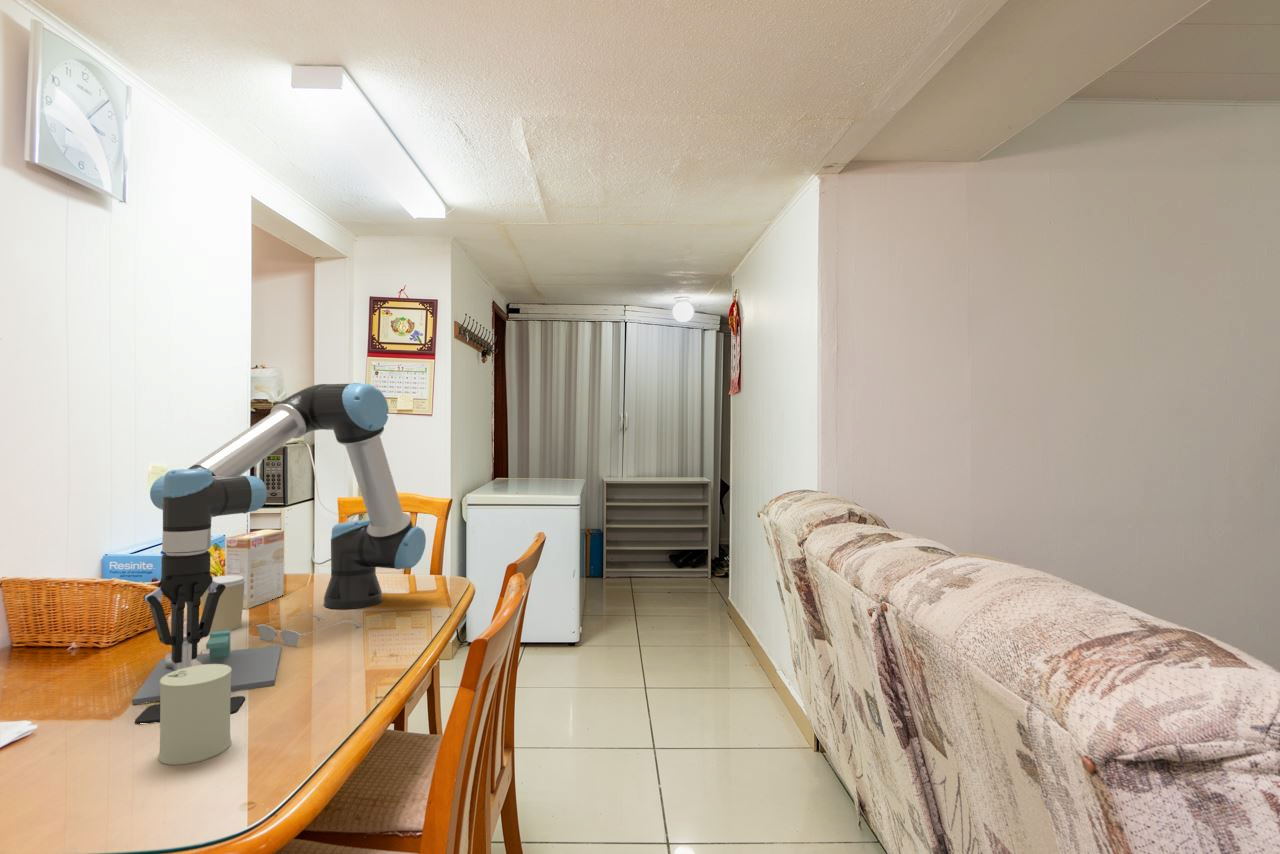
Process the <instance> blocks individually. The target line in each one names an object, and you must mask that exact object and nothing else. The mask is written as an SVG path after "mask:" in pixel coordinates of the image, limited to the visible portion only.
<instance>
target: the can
mask: <svg viewBox="0 0 1280 854" xmlns="http://www.w3.org/2000/svg"><path fill="white" fill-rule="evenodd" d="M231 671H232V669H231V667H230V666H228V665H223V664H204V665H197V666H191V667H187V668H183V669H179V670H176V671H173V672H171V673H168V674H166V675H165V676H163V677H162V678H161V679H160V701H159V702H160V703H159V704H160V722H159V727H160V728H159V753H158V756H157V758H158V761H159V762H160V763H161V764H162V763H163V764H165V765H170V766H171V765H172V766H179V765H181V766H182V765H190V764H194V763H198V762H199V763H200V762H202V761H206V760H209V759H211V758H214V757H216V756H218V755H220V754H222V753H223V752H225V751H226V750H228V748H229V747H230V746H231V744H232V739H231V714H230V697H231V692H232V691H231Z"/></svg>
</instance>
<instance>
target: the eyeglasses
mask: <svg viewBox="0 0 1280 854" xmlns="http://www.w3.org/2000/svg"><path fill="white" fill-rule="evenodd" d="M304 615H307V616H312V617H314V618H316V619H317V621H319V620H323V621H325V620H324V619H325V618H323V617H322V616H319V615H316V614H312V613H298V614H295V615H292V616H289V617H284V618H282V619H279V620H278V619H277V620H275V621H271V622H268V623H266V624H263V623H262V624H258V625H256V626H255V627H256V629H258V630H257V631H258V635H259V637H260V640H261V641H262V640H263V641H266V642H267V641H268V642H274V641H275V638H277V637H278V632H279V633H280V638H281V640H282V643H283V645H287V646H290V647H297V645H298V643H299V640H300V638H301V637H305V636H307V635H308V634H312V633H314V632H317V631H321V630H323V629H327V628H331V627H333V626H336V625H340V624H343V623H351V624H353V625H354V626H355V627H356V629H359V627H360V628H362V625H361V624H359V623H357V622H355V621H352V620H343V621H340V622H337V623H336V624H332V625H329V626H326V627H323V628H320V629H317V630H313V631H310V632H303V633H299V632H297V631H295V630H292V629H282V630H276V629H275V628H274V627H272V626H270V625H269V624H272V623H275V622H279V621H283V620H286V619H290V618H292V617H297V616H304Z"/></svg>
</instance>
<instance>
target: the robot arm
mask: <svg viewBox="0 0 1280 854" xmlns="http://www.w3.org/2000/svg"><path fill="white" fill-rule="evenodd" d="M389 409H390V408H389V404H388V401H387V399H386V397H385V395H384V393H383V392H382V391H381V390H380V389H379V388H377V387H376V386H375V385H372V384H368V383H360V382H353V383H320V384H319V383H318V384H315V385H311V386H308V387H306V388H303V389H301V390H299V391H297V392H295V393H293V394H291V395H289V396H288V397H286V398H285V399H283V400H281V401H280V402H279V403H277V404H275V405H274V406H272V408H271V409H270V413H269V414H268V415H267V416H265V417H264V418H262V419H260V420H259V421H258V422H256V423H254V424H253V425H251V426H250V427H249V428H247V429H246V430H244V431H242V432H241V433H239V434H238V435H237V436H235V437H233V438H232V439H231V440H228V442H226V443H224V444H223V445H222V446H220V447H218V448H217V449H214V451H212V452H211V453H209V454H208V455H207V456H205V457H204V458H202V459H200V460H199V461H197V462H196V463H194V464H193V465H191V466H190V467H188V468H186V469H181V468H180V469H179V468H178V469H172V470H171V469H170V470H168V471H167V472H166V473H165V475H163V476H162V475H161V476H160V477H159V478H157V479H156V480H154V481H153V482H152V484H151V487H150V490H149V497H150V500H151V502H152V504H153V505H154V506H155V508H157V509H159V510H162V538H161V539H162V540H161V541H162V546H161V547H162V548H161V549H162V552H163V553H164V554H163V555H162V556H161V578H160V581H159V583H158V585H157V588H156V589H155V590H153V591H152V592H150V593H146V594H144V595H143V597H142V599H143V601H144V602H146V604H147V605H148V606H149V608H150V611H151V615H152V618H153V622H154V627H155V629H156V632H157V636H158V640H159V642H160V643H162V644H164V645H165V646H171V652H172V661H173V662H174V663H177V670H179V669H183V668H187V667H191V661H192V660H193V659H196V657H197V655H198V644H199V643H200V642H201V640H202V639H203V638H206V637H208V636H210V633H211V632H210V629H211V626H212V622H213V619H214V615H215V611H216V608H217V604H218V601H219V597H220V596H221V594H222V593H223V591H224V590H225V588H226V587H225V585H223V584H220V583H216V582H214V581H213V578H212V577H213V576H212V575H211V552H210V548H211V547H212V539H211V538H212V518H214V517H220V516H221V517H222V516H230V515H236V514H237V515H238V514H247V513H251V512H255V511H258V510H260V509H261V508H262V507H263V506H264V505H265V503H266V501H267V498H268V497H267V495H268V493H267V492H268V491H267V486H266V484H265V482H264V481H263V480H262V479H261V478H259V477H257V476H255V475H244V474H245V473H247V472H248V471H249V470H251V469H252V468H253V467H255V466H256V465H258V464H259V463H260V462H261V461H263V460H264V459H266V458H268V456H270V455H271V454H273V453H274V452H275V451H277V450H278V449H279V448H280V447H282V446H283V445H285V444H286V443H288V442H289V441H290V440H292V439H299V438H301V437H303V436H305V435H306V434H307V433H311V432H314V431H318V430H326V431H327V430H332V431H333V433H334V435H335V439H336V442H337V443H339V444H340V445H343V446H345V448H346V452H347V454H348V458H349V461H350V465H351V467H352V470H353V474H354V476H355V479H356V483H357V487H358V489H359V493H360V494H361V497H362V498H361V499H362V500H363V503H364V508H365V509H366V514H367V516H368V519H367V518H366V519H360V520H352V521H346V522H339V523H336V524H335V525H334V526H333V527H332V529H331V537H330V574H331V575H330V579H329V582H328V584H327V588H326V589H325V593H324V597H323V606H324V607H326V608H330V609H335V610H336V609H337V610H347V609H359V608H365V607H371V606H374V605H376V604H379V603H380V602H382V601H383V591H382V588H381V585H380V582H379V580H378V577H377V573H376V571H377V570H376V569H377V568H381V569H396V570H401V569H402V570H410V569H412V568H415V566H417V565H418V563H419V562H420V561H421V559H422V557H423V555H424V552H425V549H426V544H427V543H426V542H427V541H426V540H427V539H426V533H425V531H424V529H423V528H421V527H419V526H414V525H413V521H412V519H411V518H412V517H411V516H410V514H408V513H406V512H404V511H403V509H402V505H401V502H400V499H399V495H398V492H397V489H396V485H395V481H394V477H393V475H392V472H391V468H390V465H389V462H388V459H387V456H386V451H385V447H384V445H383V441H382V439H381V435H382V434H383V432H384V431H385V427H384V426H386V424H387V422H388V419H389V415H388V414H389ZM208 587H209V589H208ZM207 589H208V592H209V593H208V596H207V599H206V602H205V606H204V609H203V612H202V613H201V617H200V605H202V595H203V594H204V593H205V591H206V590H207ZM163 595H164V596H165V597H166V599H167V600H168V601H170V608H171V611H170V613H171V614H170V615H171V619H170V620H171V621H170V628H169V624H168V622H167V618H166V614H165V613H166V612H165V610H164V607H163V604H162V601H163ZM185 608H186V632H185V635H186V636H185V637H186V639H187V641H185V642H183V637H184V631H185V630H184V628H185V626H184V625H185V622H184V621H185V618H184V617H185ZM170 629H171V630H170Z"/></svg>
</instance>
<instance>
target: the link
mask: <svg viewBox="0 0 1280 854" xmlns="http://www.w3.org/2000/svg"><path fill="white" fill-rule="evenodd" d="M185 641H187V639H186V636H183V642H185ZM164 658H165V666H166V667H169V668H173V669H174V670H175V671H176V670H177V663H174V662H173V661H172V651H170V652H169V653H167V654H165V655H164ZM197 665H203V664H201V663H200V662H199V661H198V660H197V659H193V660H192V661H191V666H197Z"/></svg>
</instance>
